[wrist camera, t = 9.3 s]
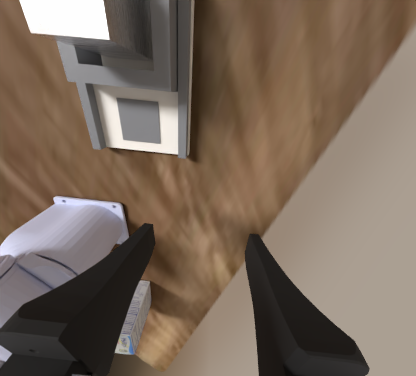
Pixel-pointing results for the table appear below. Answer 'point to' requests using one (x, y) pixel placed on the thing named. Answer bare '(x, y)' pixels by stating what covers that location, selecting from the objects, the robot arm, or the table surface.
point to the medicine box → (135, 319)
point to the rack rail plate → (140, 87)
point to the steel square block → (95, 25)
